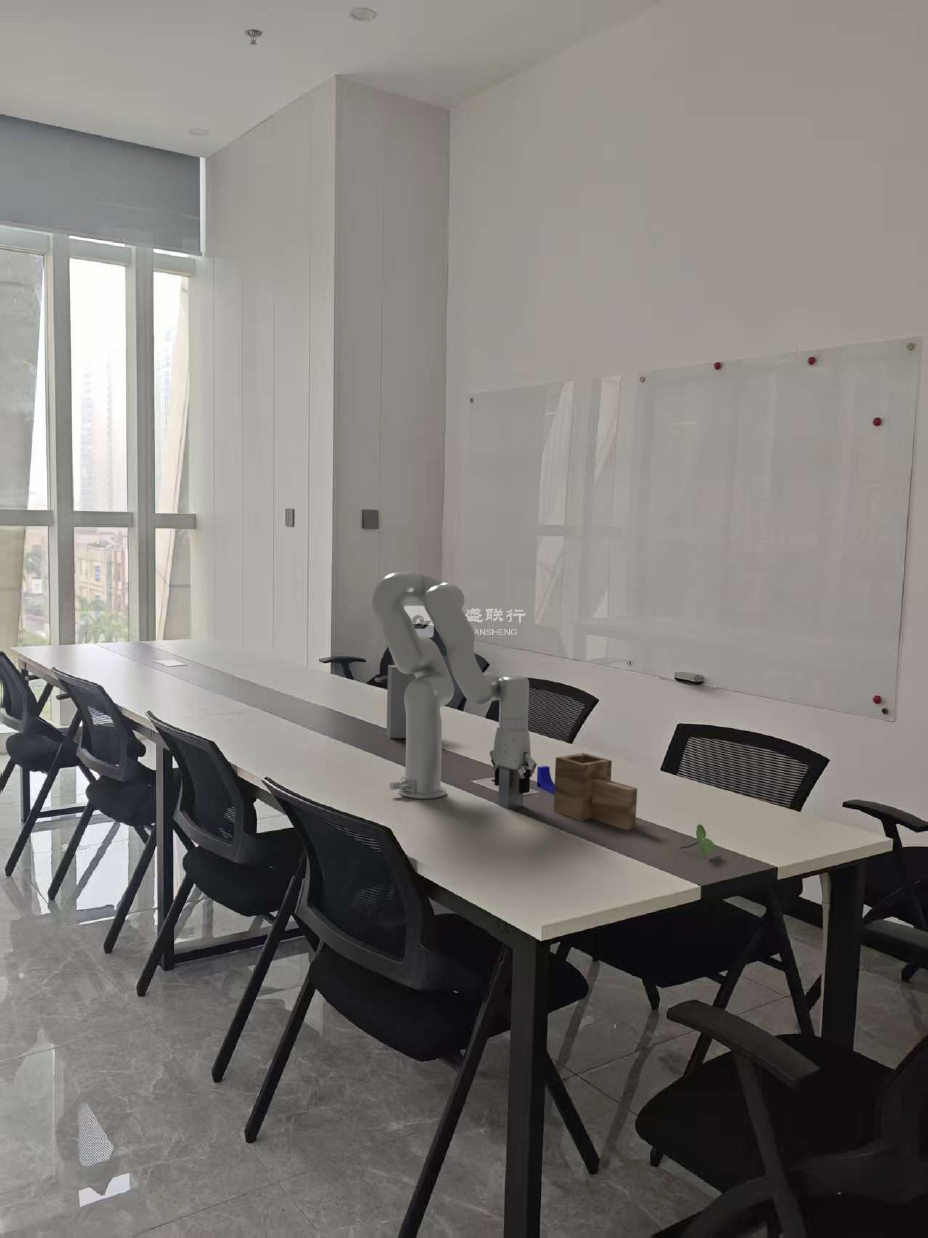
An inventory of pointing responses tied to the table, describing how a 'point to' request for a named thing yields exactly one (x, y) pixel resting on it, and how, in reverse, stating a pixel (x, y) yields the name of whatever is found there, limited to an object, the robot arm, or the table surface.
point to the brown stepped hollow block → (593, 792)
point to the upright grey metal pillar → (509, 788)
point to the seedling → (703, 841)
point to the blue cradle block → (545, 779)
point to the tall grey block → (397, 702)
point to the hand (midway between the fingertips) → (511, 788)
